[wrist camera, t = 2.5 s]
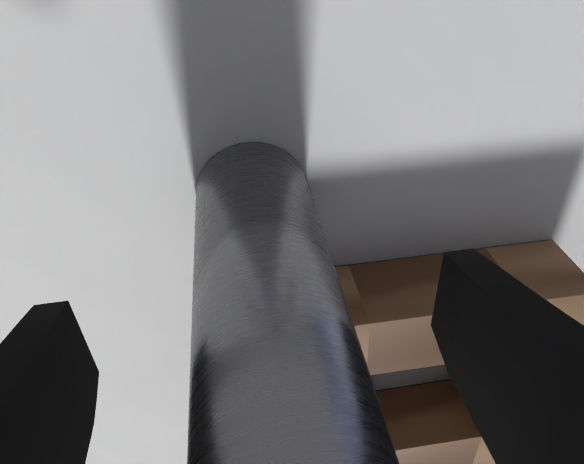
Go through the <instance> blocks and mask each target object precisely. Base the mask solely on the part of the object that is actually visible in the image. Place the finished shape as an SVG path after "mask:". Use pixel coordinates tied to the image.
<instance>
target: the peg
mask: <svg viewBox="0 0 584 464" xmlns="http://www.w3.org/2000/svg"><path fill="white" fill-rule="evenodd" d="M187 464H399V461H398V458H397V455H396V451H395V448H394V445H393V442H392V439H391V436H390V433H389V430H388V427H387V424H386V421H385V418H384V415H383V412H382V409H381V406H380V403H379V400H378V397H377V394H376V391H375V388H374V385H373V381H372V378H371V375H370V372H369V369H368V366H367V363H366V360H365V357H364V354H363V351H362V348H361V345H360V342H359V339H358V336H357V333H356V330H355V327H354V324H353V321H352V318H351V315H350V311H349V308H348V305H347V302H346V299H345V296H344V293H343V290H342V287H341V284H340V281H339V278H338V275H337V272H336V269H335V266H334V263H333V260H332V257H331V254H330V251H329V248H328V244H327V241H326V238H325V235H324V232H323V229H322V226H321V223H320V220H319V217H318V214H317V211H316V208H315V205H314V202H313V199H312V196H311V193H310V190H309V187H308V184H307V181H306V178H305V175H304V172H303V170H302V168H301V166H300V165H299V163H298V162H297V161H296V160H295V159H294V158H293V157H292V156H291V155H290V154H289V153H287V152H286V151H284V150H283V149H281V148H279V147H276V146H273V145H270V144H266V143H259V142H247V143H241V144H237V145H233V146H230V147H228V148H226V149H224V150H222V151H220V152H219V153H217V154H216V155H215V156H213V157H212V158H211V159H210V160H209V161H208V162H207V164H206V165H205V166H204V168H203V169H202V171H201V173H200V175H199V178H198V181H197V186H196V211H195V241H194V272H193V303H192V333H191V364H190V394H189V425H188V456H187Z"/></svg>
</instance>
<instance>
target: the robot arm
mask: <svg viewBox="0 0 584 464" xmlns="http://www.w3.org/2000/svg"><path fill="white" fill-rule="evenodd" d="M431 327H432V330H433V333H434V336H435V339H436V341H437V344H438V347H439V350H440V352H441V355H442V358H443V360H444V363H445V365H446V368H447V371H448V373H449V375H450V377H451V379H452V381H453V383H454V385H455V387H456V388H457V390H458V392H459V394H460V396H461V398H462V400H463V402H464V404H465V406H466V408H467V410H468V412H469V414H470V416H471V418H472V419H473V421H474V423H475V425H476V427H477V429H478V431H479V433H480V435H481V437H482V439H483V440H484V442H485V444H486V446H487V448H488V450H489V452H490V454H491V456H492V458H493V460H494V462H495V463H496V464H584V325H582V324H581V323H579V322H578V321H576V320H575V319H573V318H572V317H570V316H569V315H567V314H566V313H564V312H563V311H562V310H560V309H559V308H557V307H556V306H554V305H553V304H551V303H550V302H548V301H547V300H546V299H544V298H543V297H541V296H540V295H538V294H537V293H536V292H534V291H533V290H531V289H530V288H529V287H527V286H526V285H524V284H523V283H521V282H520V281H519V280H517V279H516V278H514V277H513V276H512V275H510V274H509V273H507V272H506V271H505V270H503V269H502V268H500V267H499V266H498V265H496V264H495V263H493V262H492V261H491V260H489V259H488V258H486V257H485V256H483V255H482V254H480V253H479V252H477V251H476V250H474V249H468V250H461V251H453V252H445V253H444V254H443V259H442V265H441V270H440V276H439V282H438V287H437V293H436V298H435V304H434V309H433V315H432V320H431ZM98 377H99V371H98V369H97V366H96V364H95V362H94V359H93V357H92V355H91V352H90V350H89V348H88V346H87V343H86V341H85V339H84V336H83V334H82V332H81V329H80V327H79V325H78V322H77V320H76V318H75V315H74V313H73V311H72V309H71V306H70V304H69V302H68V301H63V302H55V303H47V304H40V305H34V306H33V307H32V308H31V309H30V310H29V311H28V312H27V314H26V315H25V316H24V317H23V318H22V319H21V320H20V322H19V323H18V324H17V325H16V326H15V327H14V328H13V330H12V331H11V332H10V333H9V334H8V335H7V337H6V338H5V339H4V340H3V341H2V342H1V344H0V464H85V461H86V457H87V452H88V448H89V444H90V439H91V435H92V430H93V425H94V418H95V409H96V400H97V389H98Z"/></svg>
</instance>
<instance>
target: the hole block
mask: <svg viewBox="0 0 584 464" xmlns="http://www.w3.org/2000/svg"><path fill="white" fill-rule="evenodd" d="M474 250H476V251H477V252H479V253H480V254H482V255H483V256H485V257H486V258H488V259H489V260H491V261H492V262H493V263H495V264H496V265H498V266H499V267H500V268H502V269H503V270H505V271H506V272H507V273H509V274H510V275H512V276H513V277H514V278H516V279H517V280H519V281H520V282H521V283H523V284H524V285H526V286H527V287H529V288H530V289H531V290H533V291H534V292H536V293H537V294H538V295H540V296H541V297H543V298H544V299H546V300H547V301H548V302H550V303H551V304H553V305H554V306H556V307H557V308H559V309H560V310H562V311H563V312H564V313H566V314H567V315H569V316H570V317H572V318H573V319H575V320H576V321H578V322H579V323H581V324H582V325H584V273H583V272H582V271H581V269H580V268H579V267H578V266H577V265H576V264H575V263H574V262H573V261H572V260H571V259H570V258H569V257H568V256H567V255H566V254H565V253H564V252H563V251H562V249H561V248H560V247H559V246H558V245H557V244H556V243H555V242H554V241H553V240H546V241H538V242H530V243H522V244H514V245H506V246H498V247H490V248H482V249H474ZM443 254H444V253H442V254H434V255H426V256H418V257H410V258H402V259H394V260H386V261H378V262H370V263H362V264H354V265H346V266H339V267H335V269H336V272H337V275H338V278H339V281H340V284H341V287H342V290H343V293H344V296H345V299H346V302H347V305H348V308H349V311H350V315H351V318H352V321H353V324H354V327H355V330H356V333H357V336H358V339H359V342H360V345H361V348H362V351H363V354H364V357H365V360H366V363H367V366H368V369H369V372H370V375H376V374H383V373H390V372H397V371H404V370H411V369H417V368H424V367H431V366H438V365H445V363H444V360H443V358H442V355H441V352H440V350H439V347H438V344H437V341H436V339H435V336H434V333H433V330H432V327H431V320H432V315H433V309H434V304H435V298H436V293H437V287H438V282H439V276H440V270H441V265H442V259H443ZM376 394H377V397H378V400H379V403H380V406H381V409H382V412H383V415H384V418H385V421H386V424H387V427H388V430H389V433H390V436H391V439H392V442H393V445H394V448H395V451H396V455H397V458H398V461H399V464H496V463H495V462H494V460H493V458H492V456H491V454H490V452H489V450H488V448H487V446H486V444H485V442H484V440H483V439H482V437H481V435H480V433H479V431H478V429H477V427H476V425H475V423H474V421H473V419H472V418H471V416H470V414H469V412H468V410H467V408H466V406H465V404H464V402H463V400H462V398H461V396H460V394H459V392H458V390H457V388H456V387H455V385H454V383H453V381H452V380H448V381H442V382H435V383H428V384H422V385H415V386H408V387H401V388H395V389H388V390H381V391H376Z"/></svg>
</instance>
